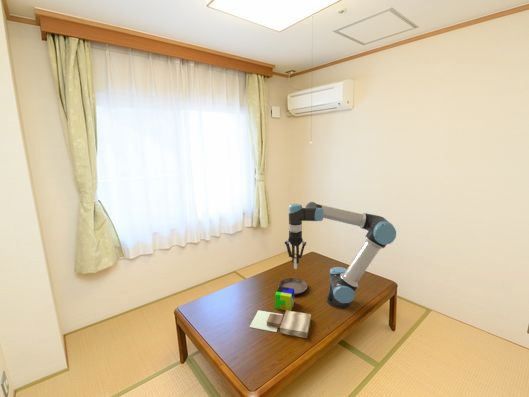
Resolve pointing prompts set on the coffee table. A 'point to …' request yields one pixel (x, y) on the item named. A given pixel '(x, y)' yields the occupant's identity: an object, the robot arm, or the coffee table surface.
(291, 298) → the puzzle toy
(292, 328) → the plate
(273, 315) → the walnut tile
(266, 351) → the coffee table surface
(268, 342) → the coffee table surface
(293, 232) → the robot arm
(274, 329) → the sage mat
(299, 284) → the plant saucer
